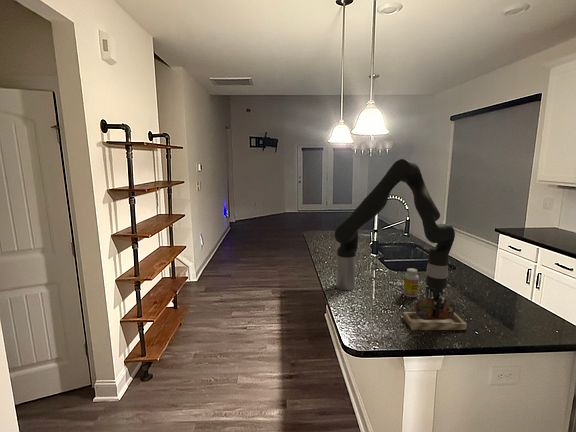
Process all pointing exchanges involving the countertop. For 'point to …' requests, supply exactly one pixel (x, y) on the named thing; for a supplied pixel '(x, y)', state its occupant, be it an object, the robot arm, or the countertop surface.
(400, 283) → the countertop surface
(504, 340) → the countertop surface
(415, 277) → the supplement bottle
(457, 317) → the tray
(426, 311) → the tin
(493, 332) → the countertop surface
